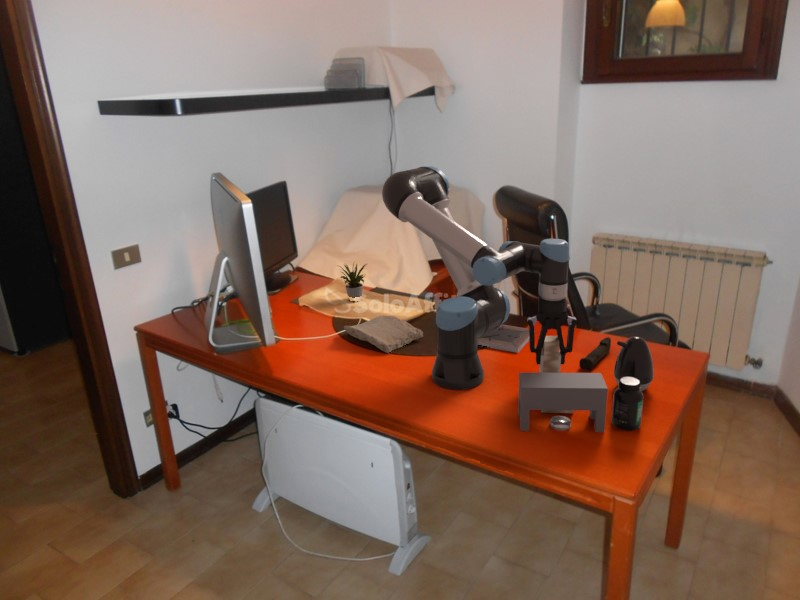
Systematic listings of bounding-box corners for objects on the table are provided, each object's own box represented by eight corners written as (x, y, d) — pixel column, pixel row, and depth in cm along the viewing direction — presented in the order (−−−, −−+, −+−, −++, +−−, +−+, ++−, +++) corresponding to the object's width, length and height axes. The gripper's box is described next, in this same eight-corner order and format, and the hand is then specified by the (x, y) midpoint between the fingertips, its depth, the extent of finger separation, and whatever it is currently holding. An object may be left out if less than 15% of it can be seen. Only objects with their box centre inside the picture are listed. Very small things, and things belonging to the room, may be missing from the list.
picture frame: (456, 343, 201) (517, 354, 190) (456, 336, 200) (517, 347, 189) (476, 326, 214) (534, 335, 203) (476, 319, 213) (534, 329, 202)
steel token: (551, 431, 147) (551, 426, 147) (548, 420, 152) (549, 415, 151) (572, 431, 147) (572, 426, 146) (569, 420, 151) (569, 415, 151)
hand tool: (591, 373, 175) (592, 358, 174) (578, 369, 178) (579, 355, 176) (618, 351, 188) (619, 337, 187) (605, 347, 191) (606, 334, 189)
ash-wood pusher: (541, 412, 155) (543, 365, 151) (534, 377, 173) (535, 335, 169) (573, 413, 154) (576, 366, 150) (562, 378, 172) (564, 335, 168)
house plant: (330, 306, 239) (326, 266, 233) (339, 294, 251) (336, 257, 246) (365, 306, 236) (362, 266, 231) (372, 294, 249) (370, 257, 243)
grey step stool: (520, 430, 148) (521, 387, 144) (518, 414, 155) (519, 372, 151) (604, 432, 145) (607, 388, 141) (597, 415, 153) (600, 373, 149)
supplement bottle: (645, 430, 145) (650, 386, 141) (618, 432, 145) (622, 388, 141) (632, 415, 152) (636, 373, 148) (606, 418, 151) (610, 375, 147)
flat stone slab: (379, 360, 192) (426, 337, 202) (376, 339, 189) (423, 317, 200) (338, 341, 210) (383, 321, 221) (335, 322, 207) (380, 302, 218)
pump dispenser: (605, 380, 170) (609, 331, 165) (641, 377, 170) (646, 328, 165) (621, 398, 160) (625, 346, 155) (658, 394, 161) (664, 343, 156)
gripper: (521, 301, 159) (520, 380, 167) (587, 300, 157) (582, 380, 165) (519, 292, 166) (517, 367, 174) (582, 291, 164) (578, 368, 172)
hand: (549, 373), depth 170 cm, fingers closed on ash-wood pusher, 4 cm apart
